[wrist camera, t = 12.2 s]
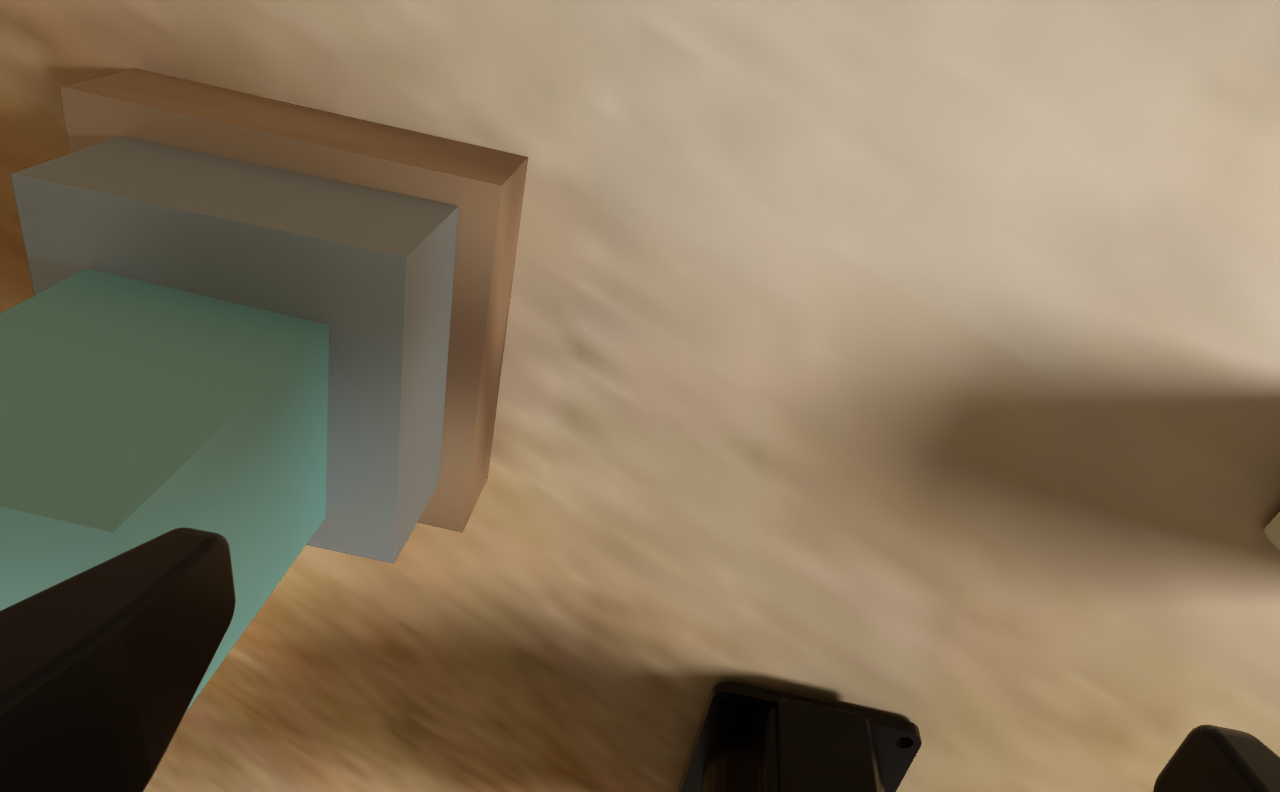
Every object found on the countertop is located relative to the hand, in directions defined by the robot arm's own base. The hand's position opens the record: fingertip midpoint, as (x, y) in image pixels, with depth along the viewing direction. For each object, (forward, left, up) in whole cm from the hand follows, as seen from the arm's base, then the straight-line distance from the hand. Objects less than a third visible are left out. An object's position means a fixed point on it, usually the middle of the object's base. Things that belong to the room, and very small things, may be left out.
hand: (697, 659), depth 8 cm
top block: (-4, +9, -11) cm, 14 cm away
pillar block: (-4, +9, -8) cm, 13 cm away
